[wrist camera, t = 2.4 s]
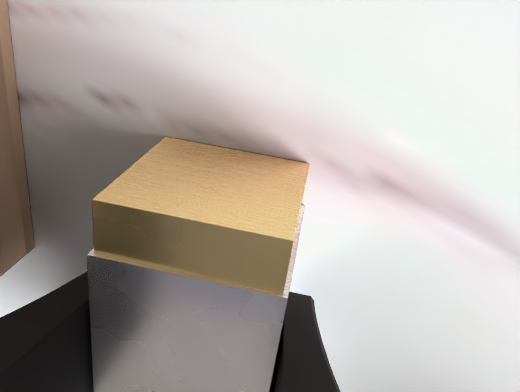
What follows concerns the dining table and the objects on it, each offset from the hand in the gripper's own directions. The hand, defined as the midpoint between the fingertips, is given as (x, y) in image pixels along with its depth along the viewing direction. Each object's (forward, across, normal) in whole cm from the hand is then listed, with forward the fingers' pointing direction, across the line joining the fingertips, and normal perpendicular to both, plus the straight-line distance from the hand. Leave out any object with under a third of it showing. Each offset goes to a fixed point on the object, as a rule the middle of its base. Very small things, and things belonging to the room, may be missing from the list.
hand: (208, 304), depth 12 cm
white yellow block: (+2, 0, 0) cm, 2 cm away
